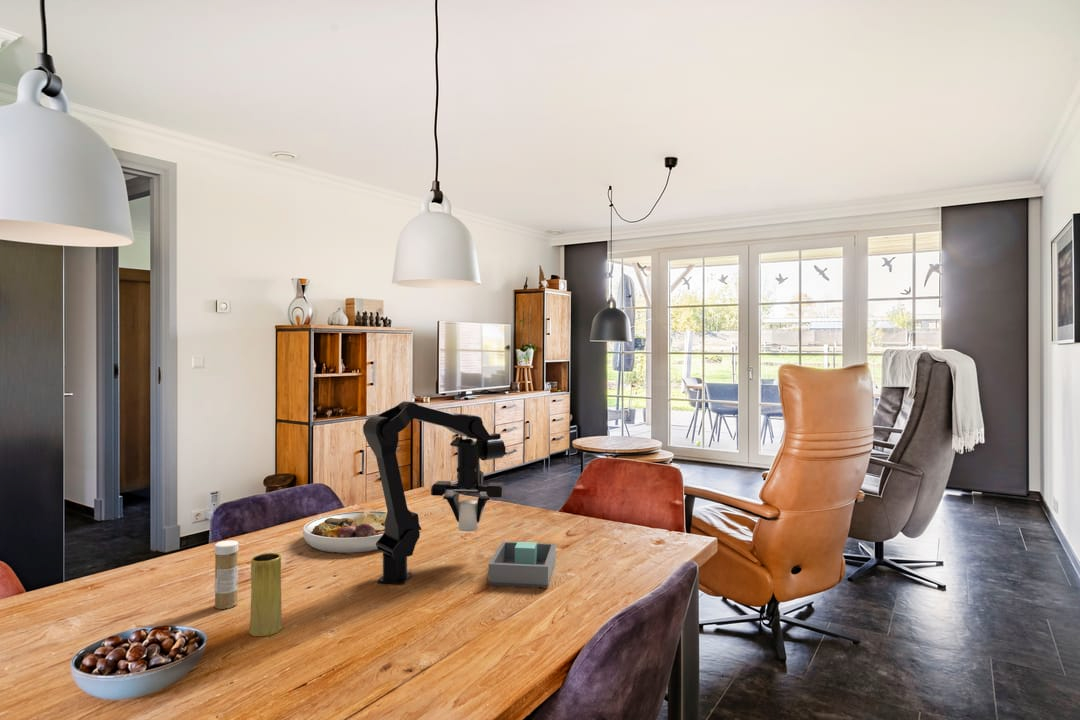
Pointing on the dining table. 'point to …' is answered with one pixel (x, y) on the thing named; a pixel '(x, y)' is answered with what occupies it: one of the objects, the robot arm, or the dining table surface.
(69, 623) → the dining table surface
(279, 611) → the vase
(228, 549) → the spice jar
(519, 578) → the tote
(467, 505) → the white cylinder
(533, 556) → the teal cube
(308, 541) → the bowl
